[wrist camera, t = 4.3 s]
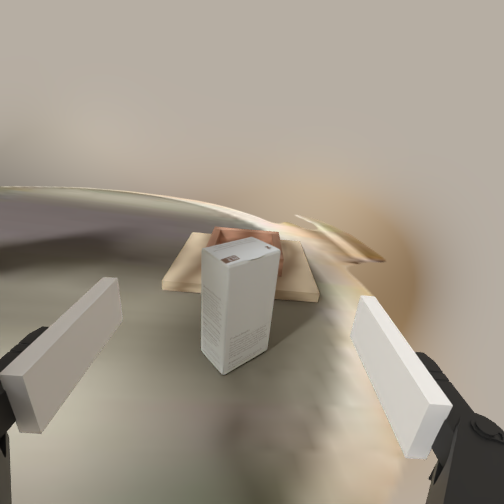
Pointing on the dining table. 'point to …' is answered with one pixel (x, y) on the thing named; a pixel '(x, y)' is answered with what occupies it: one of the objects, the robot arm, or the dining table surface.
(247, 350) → the skincare box
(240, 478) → the dining table surface
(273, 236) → the holder
